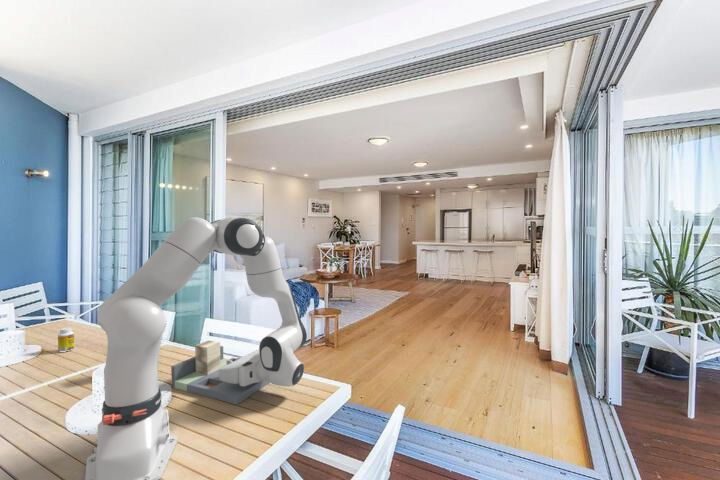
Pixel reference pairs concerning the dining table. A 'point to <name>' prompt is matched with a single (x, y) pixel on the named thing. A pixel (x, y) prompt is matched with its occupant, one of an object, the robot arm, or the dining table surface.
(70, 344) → the supplement bottle
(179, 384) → the pad
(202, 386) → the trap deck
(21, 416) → the dining table surface
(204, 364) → the birch block
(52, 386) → the dining table surface
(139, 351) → the robot arm
